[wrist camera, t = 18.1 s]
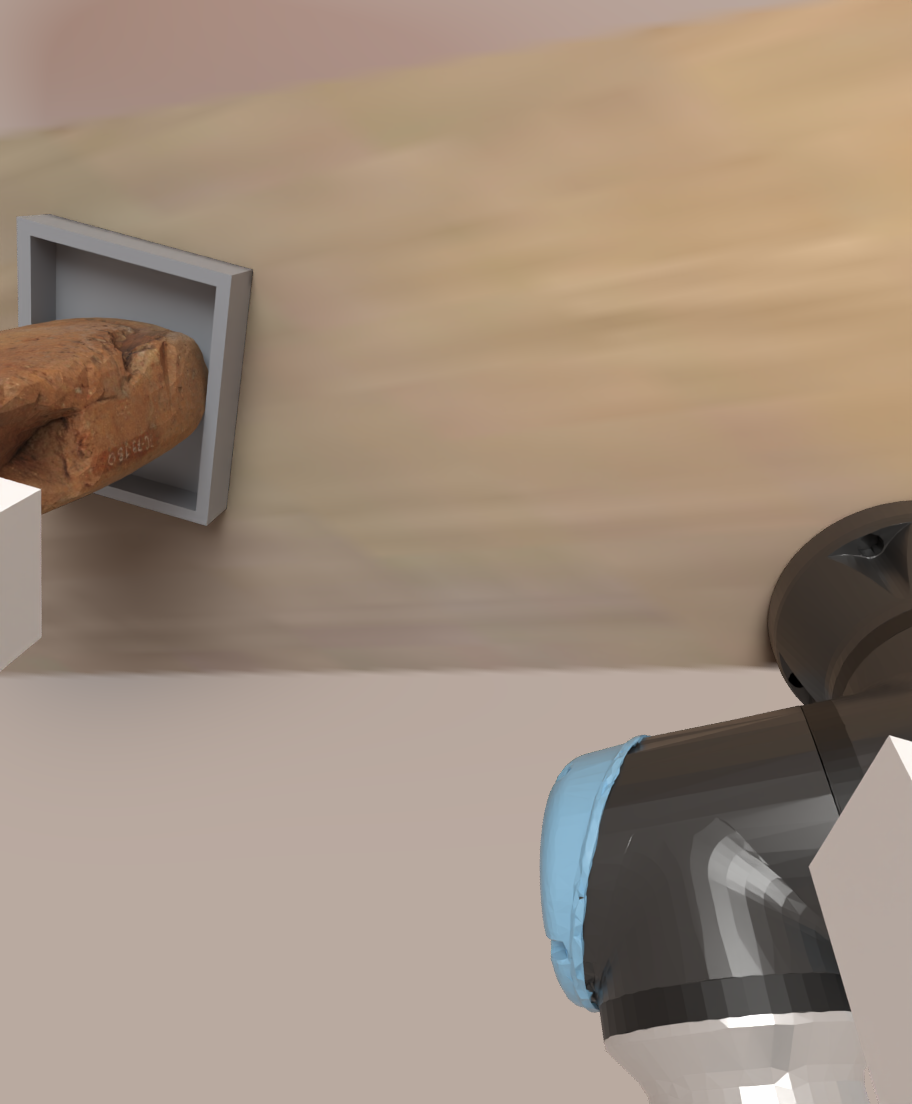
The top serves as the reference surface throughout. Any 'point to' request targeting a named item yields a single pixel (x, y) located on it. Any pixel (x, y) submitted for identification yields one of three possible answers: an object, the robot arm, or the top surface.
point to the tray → (161, 299)
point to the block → (93, 402)
